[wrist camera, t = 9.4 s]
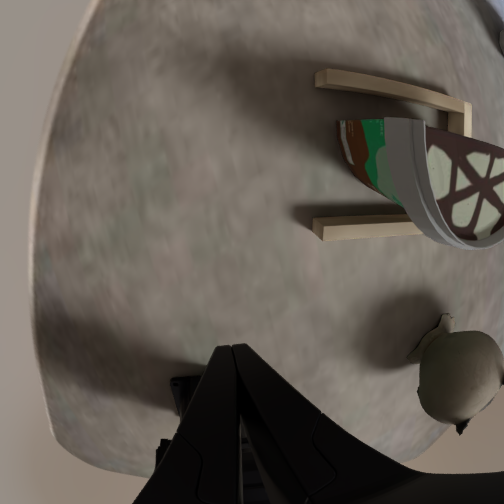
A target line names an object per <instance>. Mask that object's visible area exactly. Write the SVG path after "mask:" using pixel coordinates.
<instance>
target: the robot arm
mask: <svg viewBox="0 0 504 504" xmlns="http://www.w3.org/2000/svg"><path fill="white" fill-rule="evenodd" d="M170 386H171V389H172V393H173V396H174V399H175V403H176V406H177V409H178V412H179V415H180V424H179V427H178V429H177V433H175V435H174V437H173V439H172V440H168V439H161V442H160V446H158V449H156V465H155V470H154V473H153V475H152V476H151V478H150V479H149V480H148V482H147V483H146V485H145V486H144V488H143V489H142V490H141V492H140V493H139V495H138V496H137V498H136V499H135V500H134V502H133V503H132V504H504V471H501V472H492V473H476V474H432V473H424V472H420V471H416V470H413V469H410V468H408V467H406V466H404V465H401V464H400V463H398V462H396V461H394V460H393V459H391V458H389V457H387V456H385V455H384V454H382V453H380V452H378V451H377V450H375V449H373V448H372V447H370V446H368V445H367V444H365V443H363V442H362V441H360V440H359V439H357V438H356V437H354V436H353V435H351V434H349V433H348V432H347V431H345V430H344V429H343V428H341V427H340V426H339V425H337V424H336V423H335V422H334V421H332V420H331V419H330V418H329V417H328V416H326V415H325V414H324V413H322V414H321V411H320V410H319V409H318V408H317V407H316V406H315V405H313V404H312V403H311V402H310V401H309V400H308V399H306V398H305V397H304V396H303V395H302V394H301V393H300V392H298V391H297V390H296V389H295V388H294V387H293V386H292V385H291V384H289V383H288V382H287V381H286V380H285V379H284V378H283V377H282V376H281V375H279V374H278V373H277V372H276V371H275V370H274V369H273V368H272V367H271V366H270V365H269V364H268V363H266V362H265V361H264V360H263V359H262V358H261V357H260V356H259V355H258V354H257V353H256V352H255V351H254V350H253V349H252V348H251V347H249V346H248V345H247V344H245V343H243V344H234V345H232V346H230V345H223V346H217V347H216V348H215V349H214V351H213V354H212V356H211V358H210V360H209V362H208V364H207V367H206V369H205V371H204V373H203V375H202V376H192V377H176V378H172V379H171V380H170Z"/></svg>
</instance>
